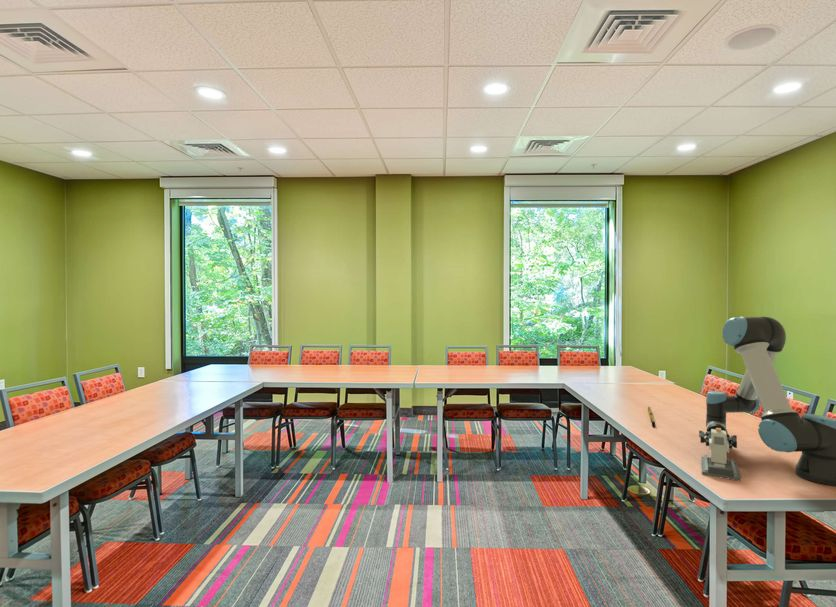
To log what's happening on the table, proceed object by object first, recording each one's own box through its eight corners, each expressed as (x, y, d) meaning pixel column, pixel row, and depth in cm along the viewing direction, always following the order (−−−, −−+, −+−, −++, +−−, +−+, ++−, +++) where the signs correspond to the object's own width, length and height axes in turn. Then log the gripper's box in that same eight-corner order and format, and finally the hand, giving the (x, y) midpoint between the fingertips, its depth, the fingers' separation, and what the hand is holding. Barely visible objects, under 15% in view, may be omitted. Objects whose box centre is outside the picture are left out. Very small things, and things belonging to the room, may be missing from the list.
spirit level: (647, 411, 260) (647, 406, 260) (650, 411, 259) (650, 406, 259) (652, 427, 229) (652, 421, 229) (654, 427, 229) (655, 421, 229)
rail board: (736, 464, 178) (736, 455, 178) (740, 481, 162) (740, 471, 162) (701, 458, 184) (701, 450, 184) (701, 474, 168) (701, 465, 168)
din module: (725, 460, 178) (725, 427, 177) (726, 464, 173) (726, 431, 173) (711, 457, 180) (711, 426, 180) (711, 461, 176) (711, 429, 176)
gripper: (742, 443, 187) (747, 461, 167) (692, 436, 197) (692, 452, 177) (742, 426, 187) (747, 442, 167) (692, 420, 197) (692, 434, 177)
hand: (719, 447), depth 172 cm, fingers closed on din module, 5 cm apart
